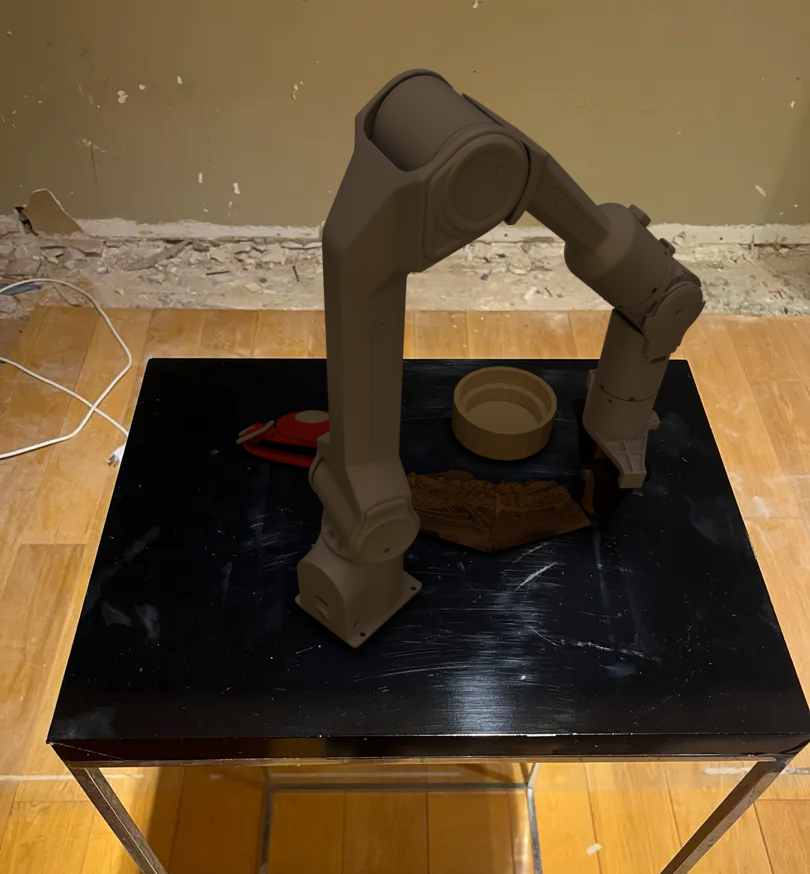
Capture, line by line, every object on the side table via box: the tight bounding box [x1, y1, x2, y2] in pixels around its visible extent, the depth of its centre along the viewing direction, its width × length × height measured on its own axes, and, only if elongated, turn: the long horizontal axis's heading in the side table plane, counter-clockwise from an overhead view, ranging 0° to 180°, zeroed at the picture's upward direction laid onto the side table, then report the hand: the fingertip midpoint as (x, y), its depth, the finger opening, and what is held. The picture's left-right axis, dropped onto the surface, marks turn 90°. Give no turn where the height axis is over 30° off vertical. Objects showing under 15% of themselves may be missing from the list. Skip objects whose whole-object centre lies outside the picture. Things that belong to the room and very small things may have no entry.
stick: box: [580, 444, 609, 514], centre depth 83 cm, size 2×2×9 cm
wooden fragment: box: [406, 469, 594, 555], centre depth 84 cm, size 26×11×1 cm, turn 84°
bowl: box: [450, 365, 558, 461], centre depth 92 cm, size 11×11×4 cm
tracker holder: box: [235, 409, 330, 470], centre depth 89 cm, size 12×4×10 cm
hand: (596, 486), depth 84 cm, fingers open, 6 cm apart
